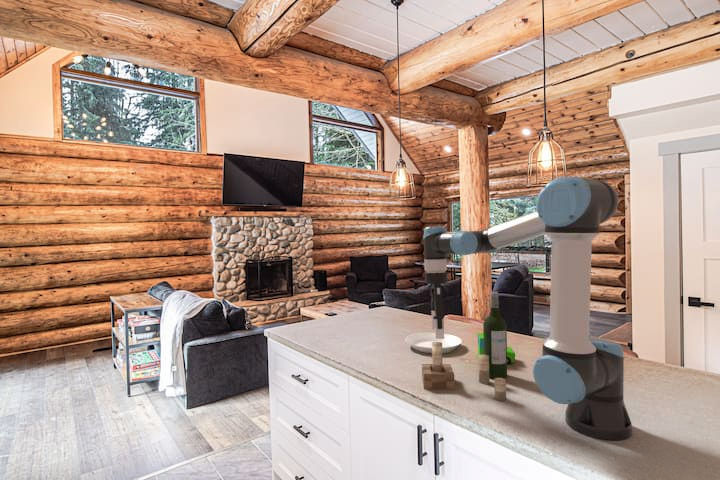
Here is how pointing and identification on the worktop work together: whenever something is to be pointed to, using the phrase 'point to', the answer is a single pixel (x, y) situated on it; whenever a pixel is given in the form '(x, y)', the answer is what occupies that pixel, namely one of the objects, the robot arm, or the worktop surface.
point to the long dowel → (437, 356)
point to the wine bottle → (495, 340)
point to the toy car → (481, 349)
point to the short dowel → (500, 389)
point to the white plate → (425, 340)
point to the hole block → (438, 377)
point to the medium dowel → (484, 369)
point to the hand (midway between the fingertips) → (437, 333)
